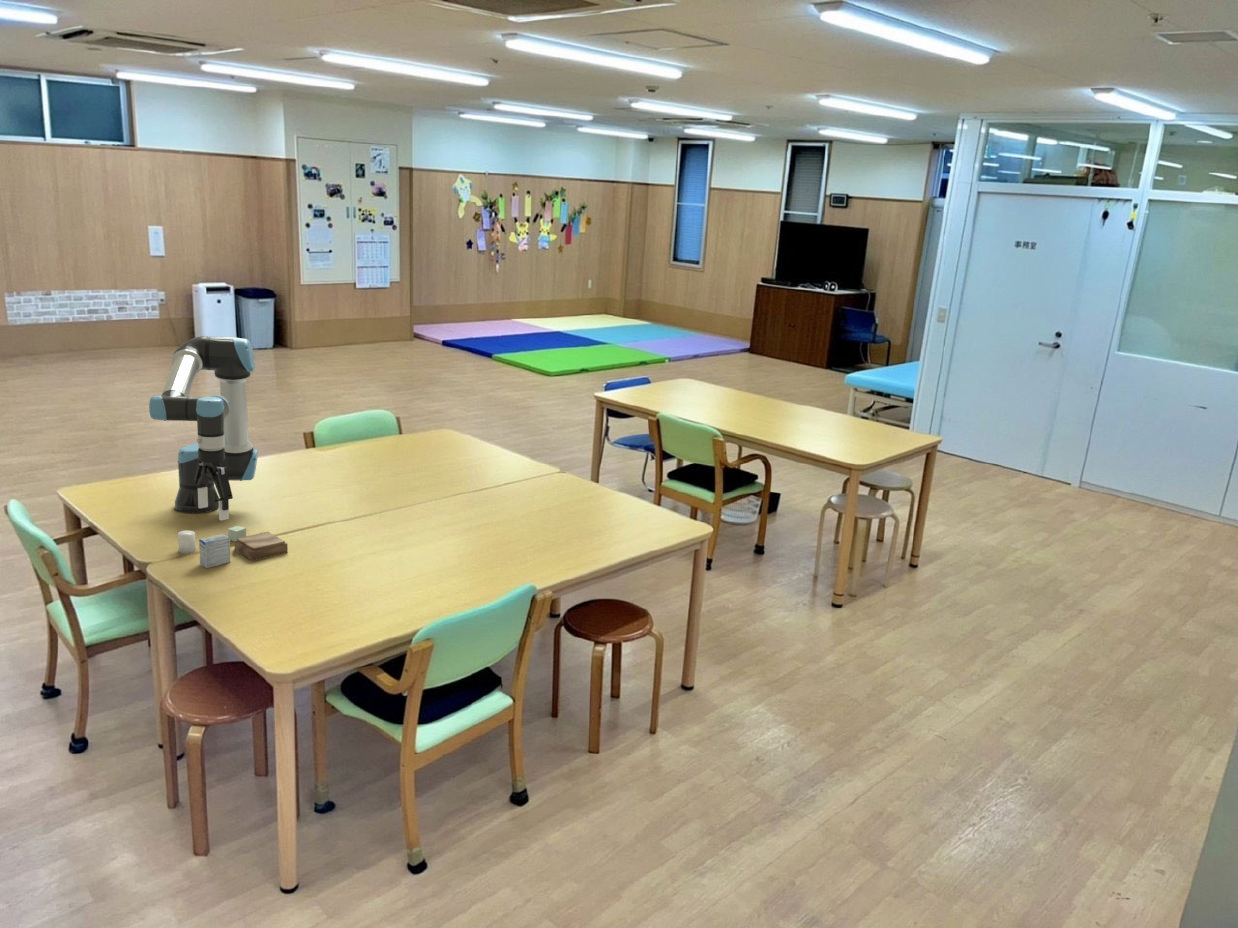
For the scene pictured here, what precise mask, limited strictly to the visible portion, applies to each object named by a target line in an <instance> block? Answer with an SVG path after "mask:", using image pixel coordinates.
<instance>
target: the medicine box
mask: <svg viewBox="0 0 1238 928" xmlns="http://www.w3.org/2000/svg"><path fill="white" fill-rule="evenodd" d="M198 543H199V544H198V545H199V546H198V547H199V564H200V565H201V566H203V567H204V568H205V569H209V568H213V567H216V566H220V565H225V564H229V563H231V540H230V538H229V537H228V535H225V534H224V533H221V534H216V535H211V536H207V537H204V538H203V537H202V538H199V539H198Z"/></svg>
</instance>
